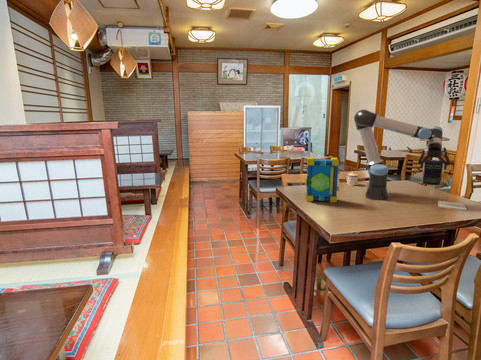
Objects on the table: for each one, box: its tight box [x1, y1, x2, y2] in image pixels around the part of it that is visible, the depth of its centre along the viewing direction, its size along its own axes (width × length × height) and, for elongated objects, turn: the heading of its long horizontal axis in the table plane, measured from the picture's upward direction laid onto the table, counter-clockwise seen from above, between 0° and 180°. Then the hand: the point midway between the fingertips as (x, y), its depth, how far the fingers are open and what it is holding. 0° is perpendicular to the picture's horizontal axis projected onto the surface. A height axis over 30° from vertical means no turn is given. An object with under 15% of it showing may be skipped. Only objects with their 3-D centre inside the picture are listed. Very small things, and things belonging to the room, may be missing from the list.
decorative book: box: [304, 156, 341, 203], centre depth 195 cm, size 14×23×30 cm, turn 78°
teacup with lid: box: [345, 171, 359, 186], centre depth 245 cm, size 12×9×12 cm
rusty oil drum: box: [422, 159, 443, 186], centre depth 183 cm, size 10×10×15 cm
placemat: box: [437, 200, 467, 212], centre depth 180 cm, size 14×14×1 cm
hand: (432, 172), depth 180 cm, fingers closed on rusty oil drum, 10 cm apart
